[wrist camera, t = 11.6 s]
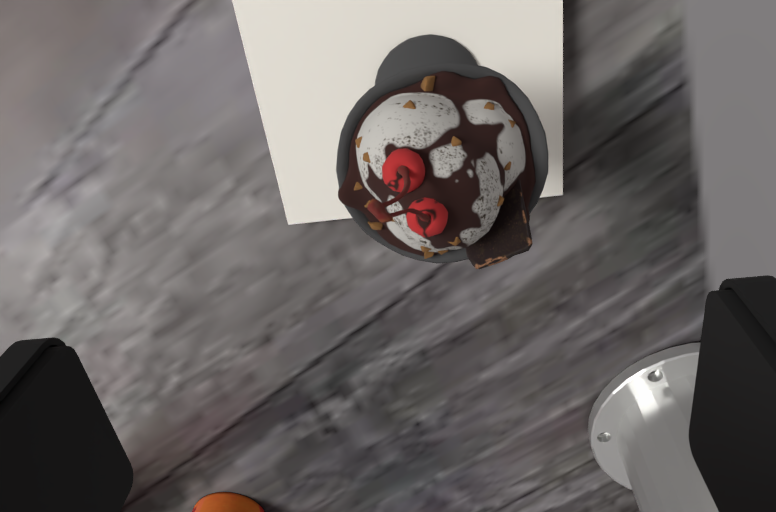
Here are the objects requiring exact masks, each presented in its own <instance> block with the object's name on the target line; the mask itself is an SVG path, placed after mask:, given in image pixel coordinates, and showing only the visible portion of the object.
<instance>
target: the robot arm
mask: <svg viewBox="0 0 776 512" xmlns="http://www.w3.org/2000/svg"><path fill="white" fill-rule="evenodd" d="M588 435H589V441H590V445H591V448H592V451H593V454H594V457H595V460H596V461H597V463H598V464H599V466H600V467H601V469H602V470H603V471H604V472H605V473H606V474H607V475H608V476H609V477H610V478H612V479H613V480H614V481H616V482H617V483H619V484H621V485H623V486H624V487H626V488H628V489H631V490H633V493H634V496H635V498H636V501H637V504H638V507H639V510H640V512H776V278H774V277H773V276H757V277H746V278H735V279H726V280H724V281H723V282H722V284H721V285H720V288H719V290H718V291H711V292H709V294H708V296H707V299H706V305H705V313H704V320H703V328H702V335H701V342H699V343H689V344H685V345H680V346H676V347H671V348H668V349H665V350H662V351H660V352H657V353H654V354H651V355H649V356H647V357H645V358H643V359H641V360H640V361H638V362H636V363H634V364H632V365H630V366H629V367H628V368H626V369H625V370H624V371H622V372H621V373H620V374H618V375H617V376H616V377H615V378H614V379H613V380H612V381H611V382H610V383H609V384H608V385H607V386H606V387H605V388H604V389H603V390H602V392H601V394H600V395H599V397H598V398H597V400H596V401H595V403H594V405H593V408H592V411H591V413H590V416H589V423H588ZM132 483H133V469H132V466H131V463H130V461H129V459H128V457H127V455H126V453H125V451H124V449H123V447H122V445H121V443H120V441H119V439H118V437H117V435H116V433H115V431H114V429H113V427H112V425H111V423H110V421H109V418H108V416H107V414H106V412H105V410H104V408H103V406H102V404H101V402H100V400H99V398H98V396H97V394H96V392H95V390H94V388H93V386H92V384H91V382H90V380H89V378H88V376H87V373H86V371H85V369H84V367H83V365H82V363H81V361H80V359H79V357H78V355H77V353H76V352H75V350H74V349H73V348H71V347H69V346H66V345H65V343H64V342H63V341H61V340H60V339H58V338H43V339H32V340H21V341H17V342H15V343H14V344H12V345H11V346H10V347H9V348H8V349H7V350H6V351H5V352H4V353H3V354H2V356H1V357H0V512H120V510H121V508H122V506H123V504H124V502H125V500H126V498H127V496H128V494H129V492H130V490H131V487H132Z"/></svg>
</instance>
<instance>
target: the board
mask: <svg viewBox="0 0 776 512" xmlns="http://www.w3.org/2000/svg"><path fill="white" fill-rule="evenodd" d="M232 2H233V6H234V10H235V14H236V18H237V22H238V26H239V30H240V34H241V38H242V42H243V46H244V50H245V54H246V58H247V62H248V66H249V70H250V74H251V78H252V82H253V86H254V90H255V94H256V98H257V102H258V106H259V110H260V113H261V117H262V121H263V125H264V129H265V133H266V137H267V141H268V145H269V149H270V153H271V157H272V161H273V165H274V169H275V173H276V177H277V181H278V185H279V189H280V193H281V197H282V201H283V205H284V209H285V213H286V217H287V221H288V225H291V224H300V223H309V222H318V221H327V220H337V219H346V218H352V216H351V215H350V213H349V212H348V210H347V209H346V207H345V205H344V204H342V203H341V202H340V200H339V198H338V190H339V185H338V179H337V173H336V163H337V150H338V145H339V139H340V134H341V131H342V128H343V126H344V123H345V121H346V119H347V116H348V114H349V113H350V111H351V110H352V108H353V107H354V105H355V104H356V102H357V101H358V100H359V99H360V98H361V97H362V96H363V95H364V94H365V93H366V92H367V91H368V90H369V89H370V88H372V87H374V86H375V80H376V76H377V72H378V69H379V67H380V65H381V64H382V62H383V60H384V59H385V57H386V56H387V55H388V53H389V52H390V51H391V50H392V49H394V48H395V47H396V46H397V45H399V44H400V43H402V42H404V41H405V40H407V39H409V38H413V37H416V36H421V35H428V34H433V35H439V36H444V37H447V38H451V39H453V40H455V41H456V42H458V43H459V44H461V45H462V46H464V47H465V48H466V49H467V50H468V51H469V52H470V53H471V54H472V56H473V57H474V59H475V60H476V62H477V64H478V66H484V67H487V68H490V69H492V70H494V71H496V72H498V73H501V74H503V75H504V76H505V77H507V78H508V79H509V80H511V81H512V82H514V83H515V84H516V85H517V86H518V87H519V88H520V89H521V90H522V92H523V93H524V94H525V95H526V96H527V97H528V98H529V100H530V102H531V103H532V105H533V107H534V109H535V110H536V112H537V114H538V116H539V119H540V121H541V123H542V126H543V128H544V130H545V133H546V139H547V146H548V175H547V178H546V182H545V185H544V189H543V191H542V193H541V196H540V197H549V196H558V195H563V0H232Z"/></svg>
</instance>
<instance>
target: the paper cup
mask: <svg viewBox="0 0 776 512" xmlns="http://www.w3.org/2000/svg"><path fill="white" fill-rule="evenodd" d="M192 512H265V511H264V510H263V508H262V507H261V506H260V505H259V504H258V503H257V502H255V501H254V500H252V499H250V498H248V497H246V496H243V495H240V494H236V493H230V492H218V493H212V494H209V495H206V496H204V497H203V498H201V499H200V500H199V501H198V502H197V503H196V505H195V507H194V509H193V511H192Z"/></svg>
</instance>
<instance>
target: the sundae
mask: <svg viewBox="0 0 776 512" xmlns="http://www.w3.org/2000/svg"><path fill="white" fill-rule="evenodd" d="M336 173H337V179H338V185H339V190H338V198H339V200H340V202H341V203H342V204H344V205H345V207H346V209H347V210H348V212H349V213H350V215H351V216H352V218H353V219H354V221H355V222H356V223H357V224H358V225H359V227H360V228H361V229H362V230H363V231H364V232H365V233H366V234H368V235H369V236H370V237H372V238H373V239H374V240H376V241H377V242H379V243H381V244H382V245H384V246H386V247H387V248H389V249H391V250H393V251H395V252H397V253H399V254H401V255H403V256H406V257H410V258H413V259H416V260H420V261H426V262H432V263H448V262H458V261H462V260H466V259H469V260H470V261H471V263H472V265H473V266H474V267H475V268H476V269H481V268H484V267H487V266H490V265H493V264H497V263H500V262H502V261H504V260H507V259H509V258H511V257H512V256H514V255H517V254H520V253H523V252H526V251H528V250H529V249H530V247H531V246H532V238H531V232H530V227H529V220H530V215H529V214H530V212H531V211H532V210H533V208H534V207H535V206H536V204H537V202H538V200H539V198H540V196H541V193H542V191H543V189H544V185H545V182H546V178H547V175H548V146H547V139H546V133H545V130H544V128H543V126H542V123H541V121H540V119H539V116H538V114H537V112H536V110H535V109H534V107H533V105H532V103H531V102H530V100H529V98H528V97H527V96H526V95H525V94H524V93H523V92H522V90H521V89H520V88H519V87H518V86H517V85H516V84H515V83H514V82H512V81H511V80H509V79H508V78H507V77H505V76H504V75H503V74H501V73H498V72H496V71H494V70H492V69H490V68H487V67H484V66H478V64H477V62H476V60H475V59H474V57H473V56H472V54H471V53H470V52H469V51H468V50H467V49H466V48H465V47H464V46H462V45H461V44H459V43H458V42H456V41H455V40H453V39H451V38H447V37H444V36H439V35H433V34H428V35H421V36H416V37H413V38H409V39H407V40H405V41H404V42H402V43H400V44H399V45H397V46H396V47H395V48H394V49H392V50H391V51H390V52H389V53H388V55H387V56H386V57H385V59H384V60H383V62H382V64H381V65H380V67H379V69H378V72H377V76H376V80H375V86H374V87H372V88H370V89H369V90H368V91H367V92H366V93H365V94H364V95H363V96H362V97H361V98H360V99H359V100H358V101H357V102H356V104H355V105H354V107H353V108H352V110H351V111H350V113H349V114H348V116H347V119H346V121H345V123H344V126H343V128H342V131H341V134H340V139H339V145H338V150H337V163H336Z"/></svg>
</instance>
